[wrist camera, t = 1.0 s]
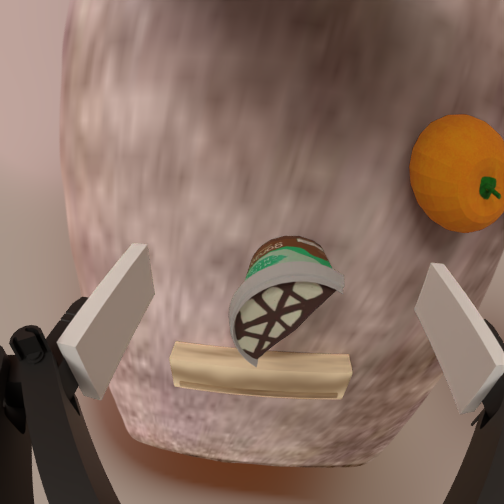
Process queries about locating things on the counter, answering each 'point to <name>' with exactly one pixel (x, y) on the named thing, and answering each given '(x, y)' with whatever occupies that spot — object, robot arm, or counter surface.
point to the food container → (280, 293)
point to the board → (260, 372)
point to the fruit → (459, 173)
